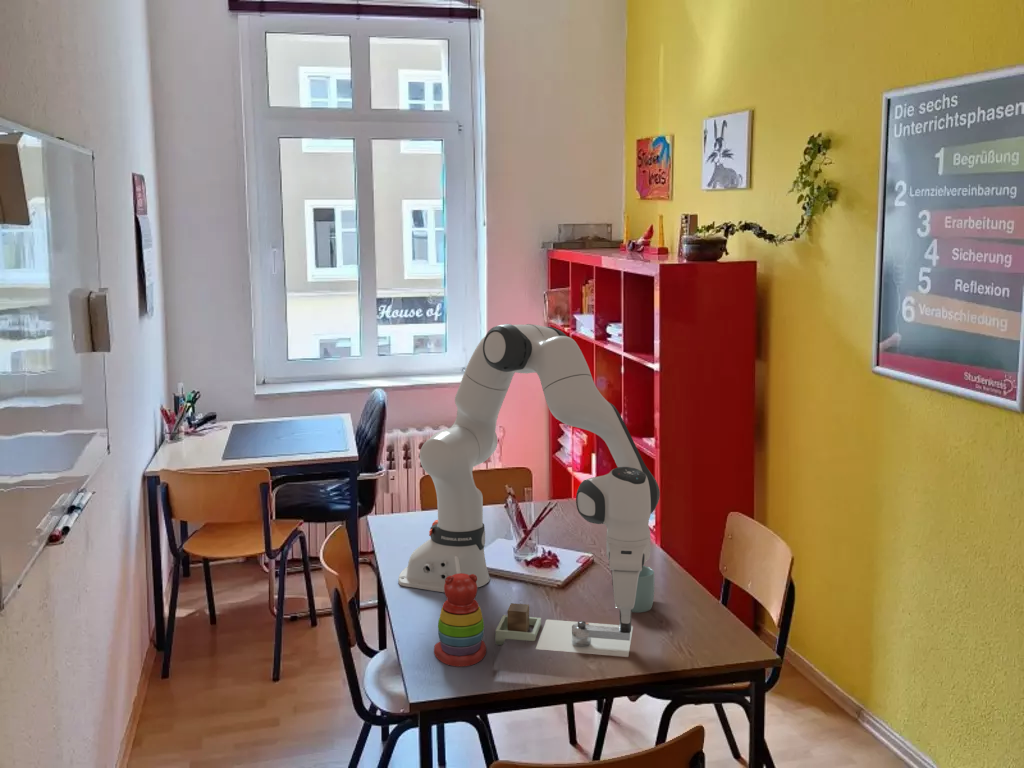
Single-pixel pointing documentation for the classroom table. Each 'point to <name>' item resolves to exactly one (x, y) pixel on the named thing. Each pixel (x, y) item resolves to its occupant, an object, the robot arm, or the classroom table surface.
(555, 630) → the crank plate
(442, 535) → the robot arm
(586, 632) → the crank
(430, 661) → the classroom table surface
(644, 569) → the cup
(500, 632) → the tray
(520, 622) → the block
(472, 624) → the stacking bear
